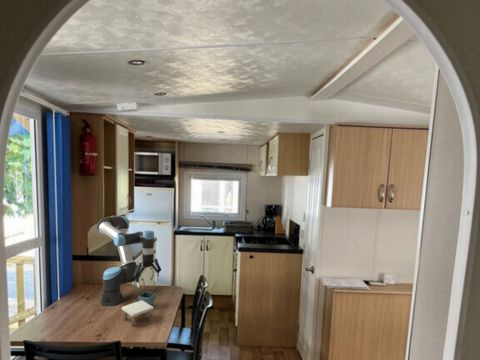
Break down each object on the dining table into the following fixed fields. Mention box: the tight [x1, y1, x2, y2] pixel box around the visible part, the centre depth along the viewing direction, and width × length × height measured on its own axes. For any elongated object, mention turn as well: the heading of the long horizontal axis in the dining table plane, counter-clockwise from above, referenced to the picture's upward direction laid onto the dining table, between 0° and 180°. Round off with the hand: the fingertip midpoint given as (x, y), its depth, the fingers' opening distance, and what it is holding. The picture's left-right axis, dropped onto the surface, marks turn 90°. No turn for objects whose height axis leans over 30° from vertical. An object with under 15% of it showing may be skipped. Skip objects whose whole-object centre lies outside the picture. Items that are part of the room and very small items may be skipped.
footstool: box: [121, 300, 154, 327], centre depth 179 cm, size 14×14×8 cm
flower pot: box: [138, 291, 156, 307], centre depth 196 cm, size 9×9×9 cm
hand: (147, 284), depth 196 cm, fingers open, 13 cm apart
